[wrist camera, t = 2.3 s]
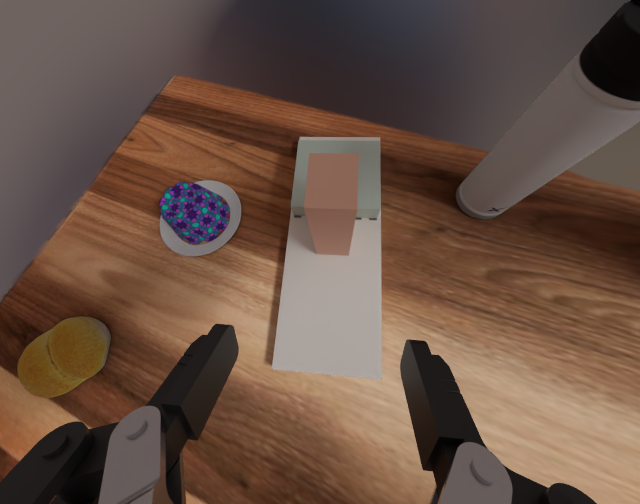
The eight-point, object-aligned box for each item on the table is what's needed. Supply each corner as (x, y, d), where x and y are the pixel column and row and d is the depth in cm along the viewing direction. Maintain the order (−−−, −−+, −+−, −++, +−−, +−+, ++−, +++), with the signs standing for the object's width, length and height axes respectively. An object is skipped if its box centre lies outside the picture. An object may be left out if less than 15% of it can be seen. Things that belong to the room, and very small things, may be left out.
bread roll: (124, 357, 28) (90, 363, 24) (55, 405, 27) (8, 418, 23) (103, 302, 30) (69, 299, 26) (38, 344, 29) (-6, 347, 25)
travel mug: (491, 230, 29) (780, 59, 10) (445, 202, 31) (621, 9, 12) (514, 197, 30) (813, -13, 11) (469, 171, 32) (665, -50, 13)
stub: (319, 217, 30) (309, 153, 18) (350, 219, 30) (358, 153, 18) (316, 253, 28) (303, 207, 17) (348, 255, 28) (357, 209, 17)
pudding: (170, 185, 35) (143, 163, 30) (246, 180, 35) (231, 156, 30) (156, 259, 32) (122, 248, 27) (240, 256, 31) (221, 243, 26)
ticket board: (301, 142, 36) (297, 123, 32) (378, 143, 35) (383, 123, 31) (274, 367, 26) (265, 374, 23) (380, 377, 25) (387, 385, 22)
